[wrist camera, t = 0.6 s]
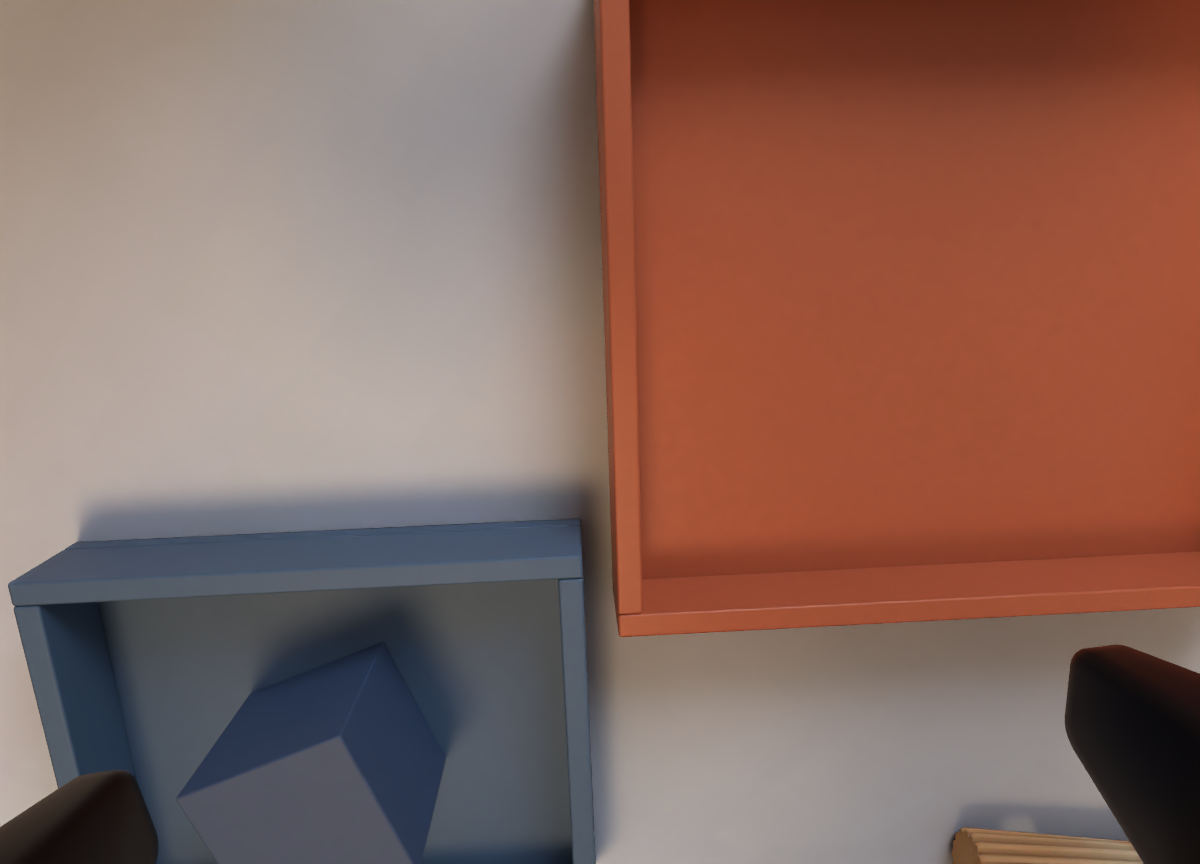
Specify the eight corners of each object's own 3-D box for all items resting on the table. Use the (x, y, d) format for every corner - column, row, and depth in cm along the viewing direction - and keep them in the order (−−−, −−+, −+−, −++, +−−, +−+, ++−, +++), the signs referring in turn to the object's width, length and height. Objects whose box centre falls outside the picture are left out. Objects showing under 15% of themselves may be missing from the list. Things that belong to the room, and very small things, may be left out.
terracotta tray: (1222, 561, 21) (1307, 602, 19) (612, 591, 20) (619, 638, 18) (1333, -47, 17) (1458, -94, 15) (592, -29, 17) (596, -75, 14)
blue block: (446, 758, 21) (419, 875, 17) (318, 807, 21) (261, 933, 17) (384, 640, 20) (339, 735, 16) (249, 693, 20) (173, 799, 16)
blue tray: (595, 864, 23) (598, 938, 20) (153, 892, 22) (102, 971, 20) (580, 517, 20) (582, 555, 18) (75, 541, 20) (5, 583, 17)
